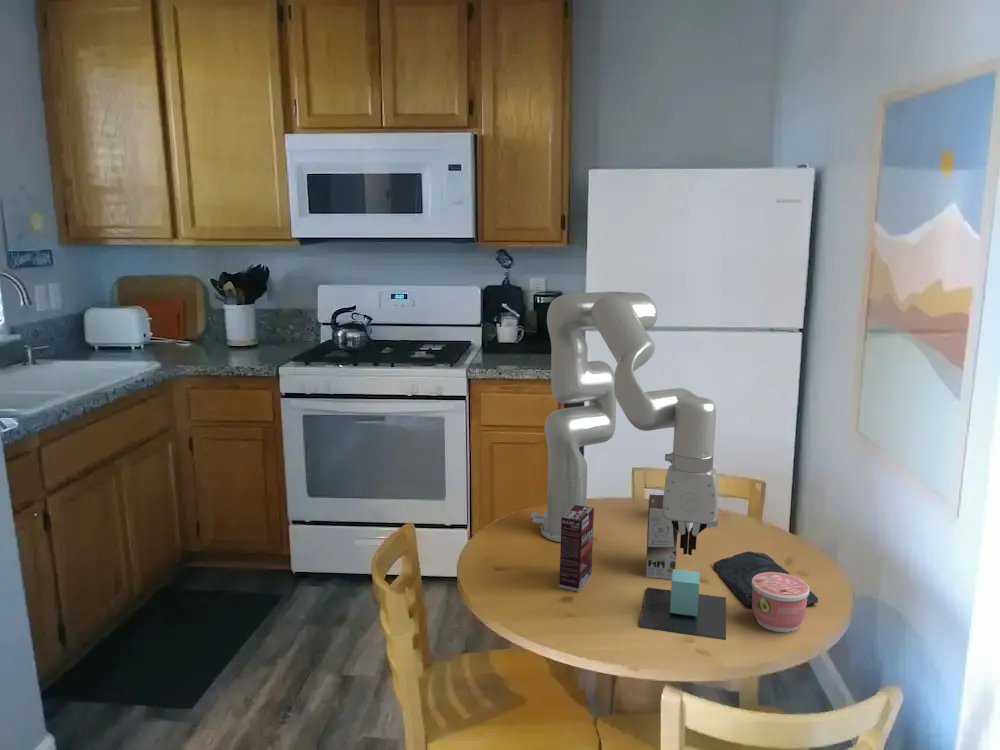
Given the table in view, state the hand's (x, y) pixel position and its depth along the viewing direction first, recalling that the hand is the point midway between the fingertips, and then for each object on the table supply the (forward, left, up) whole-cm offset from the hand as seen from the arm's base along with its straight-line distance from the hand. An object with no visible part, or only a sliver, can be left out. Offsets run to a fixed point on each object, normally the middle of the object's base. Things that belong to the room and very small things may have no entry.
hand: (687, 551), depth 153 cm
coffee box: (-6, +18, -13) cm, 23 cm away
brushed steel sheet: (0, 0, -13) cm, 13 cm away
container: (+18, +1, -13) cm, 22 cm away
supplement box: (-23, +7, -13) cm, 28 cm away
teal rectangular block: (0, 0, -12) cm, 12 cm away
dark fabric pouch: (+15, +17, -13) cm, 26 cm away
